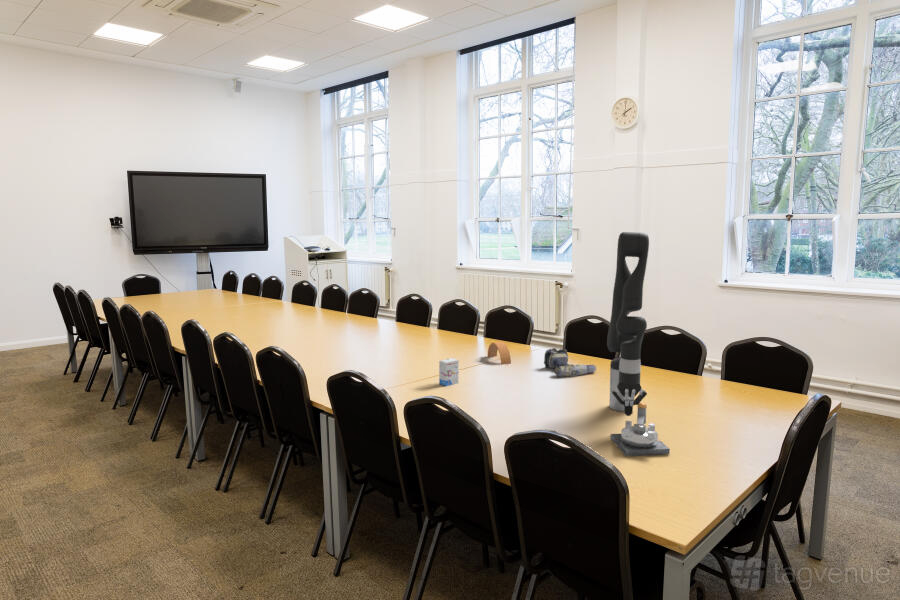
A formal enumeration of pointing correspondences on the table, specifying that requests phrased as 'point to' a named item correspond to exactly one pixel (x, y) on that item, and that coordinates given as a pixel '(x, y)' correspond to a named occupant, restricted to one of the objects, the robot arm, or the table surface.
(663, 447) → the base plate
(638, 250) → the robot arm
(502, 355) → the arch
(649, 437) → the orange knob lever
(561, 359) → the power drill
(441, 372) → the ink box
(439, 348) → the table surface
